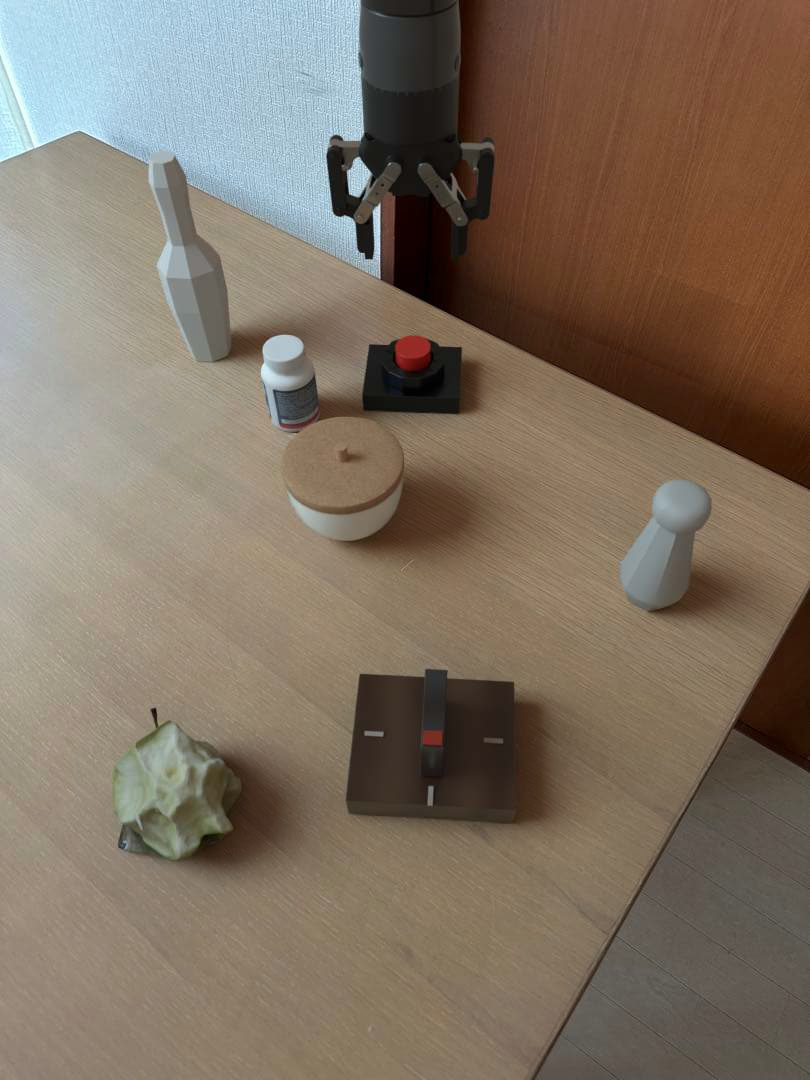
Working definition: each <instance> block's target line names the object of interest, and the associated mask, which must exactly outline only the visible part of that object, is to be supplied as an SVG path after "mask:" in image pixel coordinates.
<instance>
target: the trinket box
mask: <svg viewBox="0 0 810 1080" xmlns="http://www.w3.org/2000/svg"><path fill="white" fill-rule="evenodd" d="M404 471H405V453H404V449H403V447H402V445H401V443H400V441H399V440H398V439H397V437H396V436H395V435H394V434H393V433H392V432H391V431H390V430H389V429H388V428H386V427H385V426H383V425H381V424H379V423H377V422H375V421H373V420H369V419H366V418H363V417H362V418H361V417H357V416H336V417H330V418H329V417H328V418H326V419H322V420H317V421H316V422H315V423H314V424H311V425H310V426H308V427H306V428H304V429H303V430H301V431H298V433H296V434H295V435H294V436H293V437H292V438H291V439H290V441H288V443H287V444H286V446H285V448H284V450H283V452H282V454H281V460H280V472H281V478H282V481H283V484H284V487H285V491H286V494H287V497H288V500H289V502H290V505H291V507H292V509H293V510H294V512H295V514H296V516H297V517H298V519H299V520H300V521H301V522H302V524H304V525H305V526H306V527H307V528H308V529H310V531H312V532H313V533H315V534H317V535H319V536H321V537H323V538H326V539H329V540H333V541H338V542H355V541H358V540H362V539H364V538H365V539H366V538H368V537H370V536H371V535H373V534H375V533H377V532H378V531H380V530H381V529H382V528H383V527H384V526H385V525H386V524H387V523H388V522H389V521H390V520H391V519H392V517H393V516H394V514H395V512H396V510H397V509H398V506H399V504H400V500H401V497H402V491H403V485H404V473H405V472H404Z"/></svg>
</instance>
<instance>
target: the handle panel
mask: <svg viewBox="0 0 810 1080" xmlns="http://www.w3.org/2000/svg"><path fill="white" fill-rule="evenodd" d="M424 679H425V676H414V675H413V676H409V675H395V674H394V675H392V674H373V673H359V677H358V684H357V693H356V701H355V709H354V710H355V711H354V720H353V728H352V738H351V746H350V754H349V755H350V756H349V762H348V763H349V764H348V772H347V773H348V774H347V781H346V782H347V784H346V790H345V791H346V792H345V803H346V808H347V813H348V814H350V815H363V816H364V815H365V816H380V817H396V818H411V819H412V818H413V819H426V820H427V819H429V820H446V821H459V822H460V821H461V822H478V823H491V824H493V823H495V824H511V825H512V824H513V822H514V818H515V814H516V810H517V792H516V791H517V789H516V788H517V785H516V783H517V781H516V780H517V779H516V716H515V715H516V714H515V713H516V711H515V709H516V708H515V682H514V681H509V680H508V681H506V680H489V679H468V678H450V677H449V678H448V677H447V695H446V719H445V743H444V763H443V776H442V777H432V776H421V775H420V746H421V729H422V712H423V695H424Z"/></svg>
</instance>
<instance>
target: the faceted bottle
mask: <svg viewBox="0 0 810 1080" xmlns="http://www.w3.org/2000/svg"><path fill="white" fill-rule="evenodd" d="M148 183H149V186H150V189H151V192H152V194H153V197H154V199H155V200H154V201H155V202H156V205H157V207H158V210H159V214H160V217H161V220H162V224H163V228H164V231H165V235H166V239H167V241H166V243H165V244H164V248H163V250H162V252H161V254H160V256H159V259H158V260H157V263H156V268H157V272H158V275H159V276H158V277H159V279H160V282H161V285H162V289H163V292H164V296H165V299H166V302H167V304H168V306H169V308H170V311H171V313H172V315H173V318H174V320H175V322H176V324H177V326H178V329H179V331H180V333H181V336H182V338H183V340H184V342H185V345H186V347H187V349H188V351H189V353H190V355H191V356H192V358H194V360H195V362H206V363H207V362H208V363H214V362H217V361H219V360H221V359H223V358H227V357H228V356H229V354H230V351H231V348H232V345H233V344H232V331H231V320H230V307H229V294H228V292H229V291H228V287H227V281H226V277H225V274H224V273H225V272H224V270H223V264H222V260H221V256H220V254H219V253H218V252H217V251H216V249H215V248H214V247H213V246H212V245H211V243H209V242H208V241H207V240H205V239H204V238H203V237H201V236H200V235H199V234H198V232H197V229H196V225H195V220H194V216H193V211H192V208H191V202H190V195H189V188H188V187H189V186H188V179H187V174H186V173H185V171H184V170H183V167H182V166H181V164H180V162H179V161H178V158H177V157H176V155H175V154H174V153H173V151H171V150H159V151H156V152H153V153H151V155H150V156H149V158H148Z"/></svg>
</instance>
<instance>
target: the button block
mask: <svg viewBox="0 0 810 1080" xmlns="http://www.w3.org/2000/svg"><path fill="white" fill-rule="evenodd" d="M424 338H425V339H427V340H428V341H429V343H430V345H431V361H430V364H429V365H428V366H427V367H426V368H424V369H421V370H418V371H406V370H404V369H402V368H400V367H399V366H398V365H397V363H396V352H395V346H396V343H397V342H398V340H400V339H401V338H398V339H396V340H392V341H390V343H389V344H381V343H380V344H378V343H377V344H375V343H370V344H368V351H367V357H366V364H365V374H364V379H363V380H364V381H363V386H362V393H361V399H362V411H365V412H367V411H368V412H395V413H423V414H424V413H425V414H446V415H447V414H449V415H451V414H452V415H460V410H461V409H460V407H461V391H462V390H461V387H462V385H461V384H462V360H463V347H462V346H443V345H442V346H441V345H439V344H438V342H437V341H434V340H432V339H430V338H426V337H424Z"/></svg>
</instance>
